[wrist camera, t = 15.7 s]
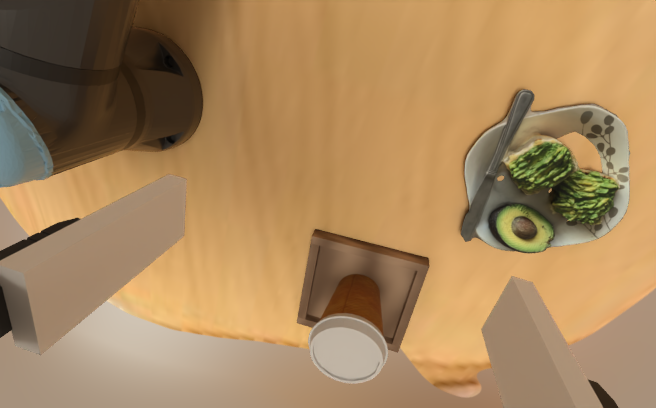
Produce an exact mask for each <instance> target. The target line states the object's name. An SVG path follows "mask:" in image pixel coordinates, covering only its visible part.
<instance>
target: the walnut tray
mask: <svg viewBox="0 0 656 408" xmlns="http://www.w3.org/2000/svg"><path fill="white" fill-rule="evenodd" d="M428 268H429V260H428V258H425V257H422V256H418V255H414V254H410V253H406V252H402V251H398V250H394V249H390V248H387V247H383V246H379V245H375V244H371V243H367V242H363V241H359V240H355V239H352V238H348V237H344V236H340V235H336V234H332V233H328V232H324V231H320V230H316V229H315V231H314V233H313V235H312V240H311V245H310V251H309V257H308V262H307V268H306V273H305V279H304V285H303V290H302V296H301V302H300V307H299V313H298V319H297V323H298V324H302V325H305V326H309V327H312V328H313V327H314V326H315V325H316V324H317V323H318V322H319V321H320V319H321V317H322V315H323V313H324V311H325V309H326V307H327V305H328V303H329V301H330V299H331V297H332V296H333V294H334V292H335V290H336V288H337V286H338V284H339V282H340V281H341V280H342V279H343V278H344V277H346V276H348V275H352V274H360V275H364V276H367V277H369V278H371V279H372V280H373V281H374V282H375V283H376V284H377V286H378V288H379V290H380V301H381V302H380V303H381V313H382V323H383V335H384V338H385V341H386V343H387V348H388V350H392V351H395V352H398V351H399V348H400V345H401V343H402V340H403V337H404V334H405V332H406V329H407V326H408V323H409V321H410V318H411V315H412V312H413V310H414V307H415V304H416V301H417V299H418V296H419V293H420V290H421V288H422V285H423V282H424V279H425V277H426V274H427V271H428Z"/></svg>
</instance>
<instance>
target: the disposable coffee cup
mask: <svg viewBox="0 0 656 408" xmlns="http://www.w3.org/2000/svg"><path fill="white" fill-rule="evenodd" d="M380 302H381V301H380V290H379V288H378V286H377V284H376V283H375V282H374V281H373V280H372V279H371V278H369V277H367V276H364V275H360V274H352V275H348V276H346V277H344V278H343V279H342V280H341V281H340V282H339V284H338V286H337V288H336V290H335V292H334V294H333V296H332V297H331V299H330V301H329V303H328V305H327V307H326V309H325V311H324V313H323V315H322V317H321V319H320V321H319V322H318V323H317V324H316V325H315V326H314V327H313V328H312V330H311V332H310V334H309V339H308V343H309V348H310V356H311V358H312V361H313V362H314V364H315V366H316V367H317V368H318V369H319V370H320V371H321V372H323V373H324V374H325V375H327V376H328V377H330V378H332V379H334V380H337V381H340V382H344V383H353V384H354V383H362V382H366V381H368V380H371V379H373V378H374V377H375V376H376V375H378V373H379V372H380V370H381V368H382V367H383V366H384V364H385V363H386V360H387V357H388V348H387V343H386V341H385V338H384V335H383V323H382V313H381V303H380Z"/></svg>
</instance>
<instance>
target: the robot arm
mask: <svg viewBox="0 0 656 408" xmlns="http://www.w3.org/2000/svg"><path fill="white" fill-rule="evenodd" d="M138 2H139V0H0V187H10V186H15V185H18V184H22V183H25V182H29V181H33V180H44V179H47V178H49V177H50V176H52V175H55V174H58V173H61V172H63V171H66V170H69V169H72V168H74V167H77V166H80V165H83V164H86V163H88V162H91V161H94V160H97V159H99V158H102V157H105V156H108V155H111V154H113V153H116V152H119V151H122V150H132V151H145V152H158V151H164V150H168V149H170V148H173V147H175V146H178V145H180V144H182V143H184V142H185V141H186V140H188V139H189V138H190V137H191V136H192V134H193V133H194V132H195V130H196V128H197V126H198V124H199V121H200V118H201V113H202V92H201V87H200V83H199V80H198V77H197V74H196V72H195V70H194V68H193V66H192V64H191V62H190V61H189V59H188V58H187V57H186V55H185V54H184V53H183V51H182V50H181V49H180V48H179V47H178V46H177V45H176V44H175V43H173V42H172V41H171V40H170V39H168V38H167V37H165V36H164V35H162V34H160V33H158V32H155V31H153V30H149V29H145V28H135V27H132V24H133V20H134V17H135V13H136V9H137V6H138ZM186 183H187V179H185V178H182V177H178V176H175V175H171V174H168V175H166V176H164V177H162V178H160V179H158V180H156V181H154V182H153V183H151V184H149V185H147V186H145V187H143V188H141V189H139V190H137V191H135V192H133V193H131V194H129V195H127V196H125V197H123V198H121V199H119V200H117V201H116V202H114V203H112V204H110V205H108V206H106V207H104V208H102V209H100V210H98V211H96V212H94V213H92V214H90V215H88V216H86V217H84V218H82V219H79V218H75V219H71V220H67V221H63V222H59V223H57V224H54V225H52V226H50V227H48V228H46V229H44V230H42V231H41V233H36V234H34V235H32V236H30V237H28V238H27V240H22V241H20V242H18V243H16V244H14V245H12V246H10V247H7V248H5V249H3V250H1V251H0V338H1V337H2V336H4V335H5V334H6V333H8V332H9V331H11V330H12V334H13V338H14V342H15V346H17V347H20V348H23V349H25V350H28V351H31V352H34V353H36V354H39V355H41V354H42V353H44V352H45V351H46V350H47V349H49V348H50V347H51V346H52V345H53V344H54V343H56V342H57V341H58V340H60V339H61V338H62V337H63V336H64V335H65V334H67V333H68V332H69V331H70V330H71V329H73V328H74V327H75V326H76V325H78V324H79V323H80V322H81V321H82V320H84V319H85V318H86V317H87V316H88V315H89V314H91V313H92V312H93V311H94V310H96V309H97V308H98V307H99V306H100V305H102V304H103V303H104V302H105V301H106V300H108V299H109V298H110V297H111V296H112V295H114V294H115V293H116V292H117V291H118V290H120V289H121V288H122V287H123V286H125V285H126V284H127V283H128V282H129V281H131V280H132V279H133V278H134V277H135V276H137V275H138V274H139V273H140V272H141V271H143V270H144V269H145V268H146V267H147V266H149V265H150V264H151V263H152V262H153V261H155V260H156V259H157V258H158V257H159V256H161V255H162V254H163V253H164V252H165V251H167V250H168V249H169V248H170V247H171V246H173V245H174V244H175V243H176V242H177V241H179V240H180V239H181V238H182V237H183V236H184V228H185V206H186ZM481 330H482V334H483V337H484V341H485V344H486V348H487V351H488V355H489V358H490V362H491V366H492V369H493V373H494V376H495V379H496V383H497V387H498V390H499V394H500V397H501V401H502V404H503V408H618V406H617V404H616V403H615V401H614V400H613V399H612V398H611V397H610V396H609V395H608V394H607V392H606V391H605V390H604V389H603V388H602V387H601V386H600V385H599V384H598V383H596V382H594V381H591V380H588V379H587V378H586V376H585V374H584V372H583V371H582V369H581V367H580V366H579V364H578V362H577V360H576V358H575V357H574V355H573V353H572V351H571V349H570V348H569V346H568V344H567V342H566V341H565V339H564V337H563V335H562V333H561V332H560V330H559V328H558V326H557V325H556V323H555V321H554V319H553V318H552V316H551V314H550V312H549V310H548V309H547V307H546V305H545V303H544V302H543V300H542V298H541V296H540V295H539V293H538V291H537V289H536V287H535V286H534V284H533V282H530V281H527V280H523V279H520V278H517V277H513V276H512V277H511V278H510V280H509V282H508V284H507V285H506V287H505V289H504V291H503V292H502V294H501V296H500V298H499V299H498V301H497V303H496V305H495V306H494V308H493V310H492V312H491V313H490V315H489V317H488V319H487V320H486V322H485V324H484V326H483V327H482V329H481Z"/></svg>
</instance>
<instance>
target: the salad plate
mask: <svg viewBox="0 0 656 408" xmlns="http://www.w3.org/2000/svg"><path fill="white" fill-rule="evenodd" d="M533 101H534V94H533V92H532V91H530V90H525V89H524V90H521V91H520V92H518V93H517V95H516V96H515V99H514V101H513V104H512V106H511V108H510V111H509V113H508V115H507V117H506V118H505V119H504V120H503V121H502V122H500V123H498V124H497V125H496V126H494V127H492V128H490V129H489V130H487V131H485V133H483V135H482V136H481V137H480V138H479V139H478V140H477V142H476V143H475V144H474V145H473V147H472V148H471V150H470V151H469V152H468V154H467V158H466V161H465V183H466V187H467V194H468V199H469V206H470V209H469V211H468V213H467V214H466V216H465V219H464V222H463V226H462V231H461V235H462V237H463V238H464V240H465V242H467V241H471V239H472V238H475V237H476V238H479V239H481V240H482V241H484V242H485V243H487V244H488V245H490V246H492V247H494V248H497V249H501V250H505V251H518V252H523V253H538V252H543V251H545V250H546V248H549V247H558V246H565V245H573V244H580V243H585V242H590V241H593V240H596V239H599V238H600V237H602V236H604V235H606V234H607V233H608V232H610V231H611V230H612V229H613V228H614V227H615V226H616V225H617V224H618V223H619V222H620V220H622V218H623V216H624V215H625V213H626V211H627V207H628V204H629V192H630V186H629V155H630V151H629V142H628V132H627V129H626V126H625V125H624V123H623V122H622V121H621V120H620V119H619V118H618V117H617V115H616V114H613V113H611V112H609V111H608V110H606V109H604V108H603V107H601V106H599V105H596V104H581V105H576V106H568V107H562V108H556V109H552V110H547V111H538V112H533V111H531V105H532V103H533ZM571 132H577V133H579V134H581V135H583V136H585V137H586V138H587V139H588V140H589V141H590V142H591V143H592V144H594V146H595V147H596V149H597V151H598V153H599V155H600V158H601V163H602V173H599V172H596V171H591V170H585V169H581V168H579V167H578V162H577V160H576V159H575V156H574V155H573V153H572V151H571V150H570V148H568V147H567V146H566V145H564V144H563V143H561V142H559V141H558V140H557V138H559V137H562V136H563V135H566V134H568V133H571ZM501 175H502V176H504V180H502V181H497V177H498V176H501ZM550 188H552V191H551V192H550V193H548V191H549V189H550ZM567 220H569V221H567Z"/></svg>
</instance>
